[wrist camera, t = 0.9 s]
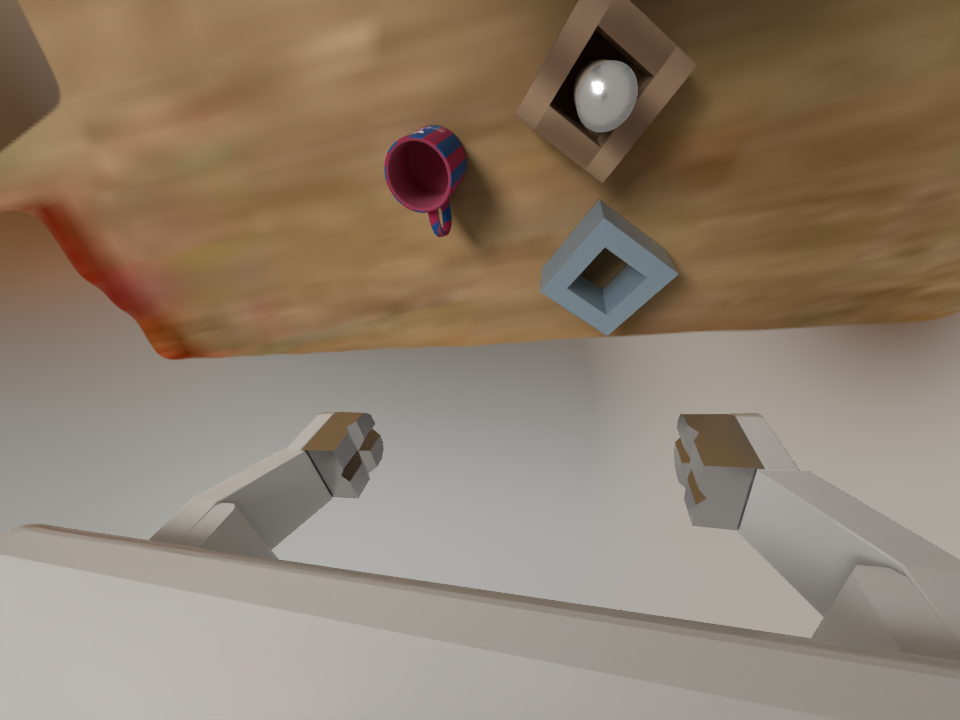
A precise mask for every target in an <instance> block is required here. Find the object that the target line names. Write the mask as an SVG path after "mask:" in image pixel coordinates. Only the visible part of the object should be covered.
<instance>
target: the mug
mask: <svg viewBox="0 0 960 720" xmlns="http://www.w3.org/2000/svg"><path fill="white" fill-rule="evenodd" d="M465 171H466V156H465V152H464V149H463V146H462V144H461V142H460V141H459V140H458V138H457V137H456V136H455V135H454V134H453V133H452V132H451V131H449V130H448V129H446V128H444V127H441V126H437V125H430V126H426V127H423V128H421V129H419V130H417V131H415V132H413V133H411V134H409V135H407V136H405V137H403V138H401V139H399V140H398V141H396V142H395V143H394V144H393V145H392V146H391V148H390V149H389V151H388V153H387V156H386V159H385V178H386V181H387V184H388V187H389V189H390V191H391V192H392V194H393V196H394V197H395V198H396V199H397V200H398V201H399V202H400V203H401V204H402V205H403V206H405V207H406V208H408V209H410V210H412V211H416V212H422V213H426V212H428V214H429V219H430V223H431V226H432V229H433V231H434V233H435V234H436V235H437V236H438V237H444V236H446V235H448V234H449V232H450V229H451V225H452V219H451V210H450V203H449V197H450V195H451V194H452V193H453V192H454V191H455V189H456V188H457V187H458V186H459V184H460V183H461V181H462V180H463V178H464V175H465ZM440 207H441V210H442V216H443V228H442V227H441V224H440V220H439V213H438V208H440Z"/></svg>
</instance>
